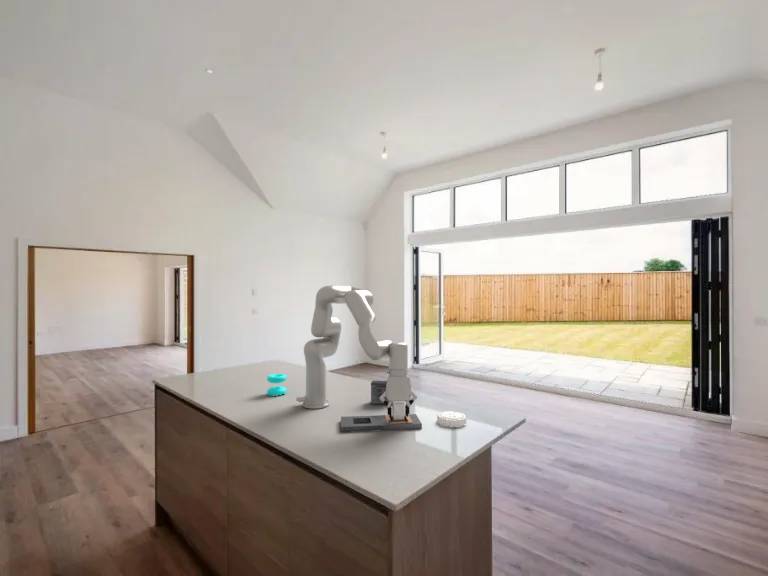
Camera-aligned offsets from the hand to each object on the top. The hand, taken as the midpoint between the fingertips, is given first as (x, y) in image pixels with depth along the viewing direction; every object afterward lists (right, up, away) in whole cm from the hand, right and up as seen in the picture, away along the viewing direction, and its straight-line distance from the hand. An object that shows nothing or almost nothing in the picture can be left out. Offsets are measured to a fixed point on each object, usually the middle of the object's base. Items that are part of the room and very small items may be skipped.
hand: (398, 415), depth 156 cm
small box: (-7, -4, +29) cm, 30 cm away
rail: (-7, -4, -1) cm, 8 cm away
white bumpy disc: (+22, -4, +2) cm, 23 cm away
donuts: (-63, -4, +45) cm, 78 cm away
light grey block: (0, -4, 0) cm, 4 cm away
